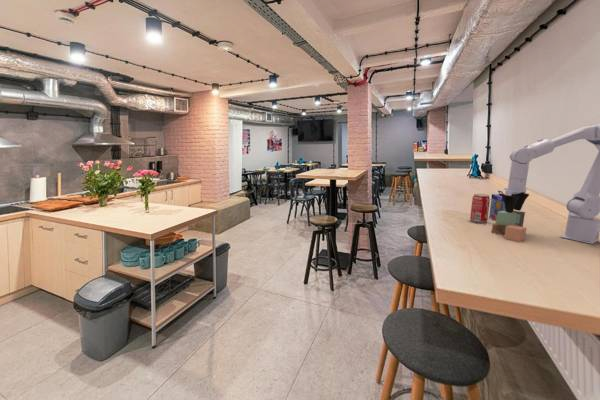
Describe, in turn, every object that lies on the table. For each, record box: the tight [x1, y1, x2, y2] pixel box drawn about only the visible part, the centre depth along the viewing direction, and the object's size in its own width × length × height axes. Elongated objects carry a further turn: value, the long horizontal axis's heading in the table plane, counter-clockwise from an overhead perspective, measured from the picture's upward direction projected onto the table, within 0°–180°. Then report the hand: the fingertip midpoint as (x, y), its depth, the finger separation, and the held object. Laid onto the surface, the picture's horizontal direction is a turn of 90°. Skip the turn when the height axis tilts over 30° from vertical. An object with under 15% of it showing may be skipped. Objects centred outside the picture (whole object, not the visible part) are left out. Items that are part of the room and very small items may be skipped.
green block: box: [495, 211, 517, 226], centre depth 121 cm, size 5×5×5 cm
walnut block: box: [491, 222, 517, 236], centre depth 122 cm, size 7×7×4 cm
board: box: [503, 209, 526, 227], centre depth 129 cm, size 5×8×8 cm, turn 51°
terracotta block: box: [503, 225, 527, 243], centre depth 113 cm, size 5×5×5 cm
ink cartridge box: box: [488, 190, 506, 221], centre depth 141 cm, size 10×6×14 cm, turn 174°
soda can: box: [470, 193, 491, 224], centre depth 138 cm, size 7×7×13 cm
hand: (513, 211), depth 120 cm, fingers open, 7 cm apart
